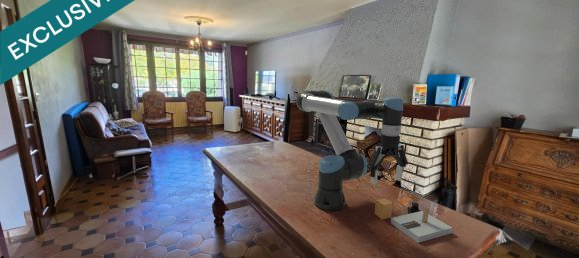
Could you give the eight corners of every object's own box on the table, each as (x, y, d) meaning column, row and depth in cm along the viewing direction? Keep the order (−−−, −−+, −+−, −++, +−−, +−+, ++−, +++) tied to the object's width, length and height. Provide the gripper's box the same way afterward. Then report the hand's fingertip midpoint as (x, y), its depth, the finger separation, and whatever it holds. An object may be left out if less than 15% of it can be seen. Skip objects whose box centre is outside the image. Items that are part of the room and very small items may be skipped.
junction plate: (417, 243, 93) (419, 222, 91) (390, 223, 106) (391, 204, 104) (451, 233, 99) (454, 213, 98) (422, 215, 112) (424, 198, 111)
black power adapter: (423, 221, 109) (424, 212, 108) (405, 218, 111) (406, 208, 111) (421, 208, 120) (422, 200, 119) (404, 205, 123) (405, 197, 122)
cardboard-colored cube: (382, 219, 108) (383, 204, 107) (374, 213, 113) (375, 199, 112) (391, 217, 110) (392, 203, 109) (383, 212, 115) (384, 198, 114)
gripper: (372, 138, 97) (368, 189, 101) (420, 134, 106) (414, 181, 110) (360, 134, 104) (357, 182, 108) (406, 131, 113) (401, 175, 116)
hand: (386, 182), depth 109 cm, fingers open, 13 cm apart
